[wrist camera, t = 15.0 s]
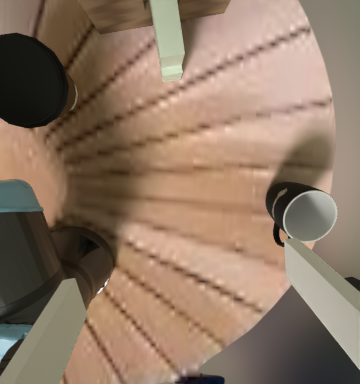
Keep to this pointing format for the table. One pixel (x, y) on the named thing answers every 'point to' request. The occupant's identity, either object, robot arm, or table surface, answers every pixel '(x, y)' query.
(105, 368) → the table surface
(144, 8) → the slotted board
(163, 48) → the sage plate
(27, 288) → the robot arm
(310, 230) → the mug
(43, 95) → the coffee cup
